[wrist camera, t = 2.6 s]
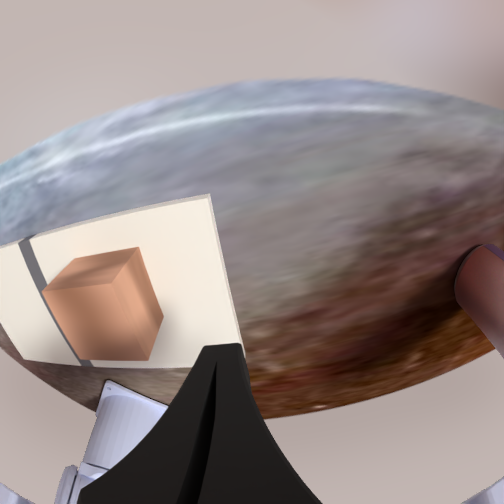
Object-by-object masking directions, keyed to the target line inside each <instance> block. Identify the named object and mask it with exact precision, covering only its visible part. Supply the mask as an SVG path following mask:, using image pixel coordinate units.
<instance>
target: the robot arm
mask: <svg viewBox="0 0 504 504" xmlns="http://www.w3.org/2000/svg"><path fill="white" fill-rule="evenodd" d="M96 417H97V420H96V422H95V425H94V428H93V431H92V434H91V437H90V440H89V442H88V446H87V449H86V452H85V455H84V458H83V461H82V462H81V464H80V468H79V471H77V467H76V466H75V465H71V466H68V467H66V468H65V469H64V472H63V474H62V477H61V480H60V483H59V487H58V490H57V494H56V498H55V503H54V504H322V503H321V502H320V500H319V499H318V498H317V497H316V496H315V495H314V494H313V493H312V491H311V490H310V489H309V488H308V487H307V486H306V484H305V483H304V482H303V481H302V479H301V478H300V477H299V475H298V474H297V473H296V471H295V470H294V469H293V467H292V466H291V464H290V463H289V461H288V460H287V459H286V457H285V456H284V454H283V453H282V451H281V450H280V448H279V447H278V445H277V443H276V442H275V440H274V438H273V436H272V435H271V433H270V431H269V429H268V427H267V426H266V424H265V422H264V420H263V418H262V416H261V414H260V411H259V409H258V407H257V405H256V402H255V400H254V398H253V395H252V392H251V386H250V376H249V372H248V368H247V364H246V360H245V356H244V352H243V348H242V345H241V344H240V343H228V344H218V345H206V346H204V347H203V348H202V350H201V352H200V354H199V356H198V358H197V359H196V361H195V363H194V365H193V367H192V369H191V371H190V373H189V374H188V376H187V378H186V380H185V381H184V383H183V385H182V386H181V388H180V390H179V391H178V393H177V395H176V396H175V398H174V399H173V400H172V402H171V403H170V405H169V406H167V405H164V404H162V403H159V402H157V401H154V400H152V399H149V398H147V397H145V396H142V395H140V394H138V393H136V392H133V391H131V390H129V389H127V388H125V387H123V386H121V385H118V384H116V383H114V382H112V381H110V380H107V381H106V383H105V386H104V389H103V392H102V395H101V398H100V401H99V405H98V408H97V411H96ZM0 504H35V503H33V502H31V501H29V500H28V499H25V498H23V497H22V496H20V495H19V494H17V493H15V492H14V491H12V490H11V489H9V488H8V487H6V486H5V485H3V484H2V483H0ZM461 504H504V477H502V478H501V479H500V480H498V481H497V482H495V483H494V484H493V485H492V486H490V487H488V488H486V489H484V490H482V491H481V492H479V493H477V494H476V495H474V496H473V497H471V498H469V499H468V500H466V501H464V502H462V503H461Z"/></svg>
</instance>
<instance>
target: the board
mask: <svg viewBox="0 0 504 504" xmlns="http://www.w3.org/2000/svg"><path fill="white" fill-rule="evenodd" d="M134 247H139V248H140V252H141V255H142V258H143V261H144V264H145V267H146V270H147V272H148V275H149V278H150V281H151V284H152V286H153V289H154V292H155V295H156V297H157V300H158V303H159V305H160V308H161V310H162V313H163V315H164V318H163V320H162V323H161V326H160V329H159V332H158V334H157V337H156V340H155V343H154V346H153V349H152V351H151V354H150V357H149V360H148V361H105V360H83V359H80V358H79V357H78V355H77V354H76V352H75V351H74V349H73V347H72V346H71V344H70V343H69V341H68V339H67V338H66V336H65V334H64V333H63V331H62V329H61V328H60V326H59V324H58V322H57V320H56V319H55V317H54V315H53V313H52V311H51V309H50V307H49V306H48V304H47V302H46V300H45V298H44V296H43V294H42V291H43V289H44V288H45V287H46V286H47V285H48V284H49V283H50V282H51V281H52V280H53V279H54V278H55V277H56V276H57V275H58V274H59V273H60V272H61V271H62V270H63V269H64V268H65V267H66V266H67V265H68V264H69V263H70V262H71V261H72V260H73V259H74V258H79V257H84V256H90V255H95V254H100V253H106V252H111V251H117V250H122V249H128V248H134ZM0 322H1V324H2V326H3V328H4V329H5V331H6V333H7V334H8V336H9V337H10V339H11V341H12V342H13V344H14V345H15V347H16V348H17V350H18V351H19V353H20V354H21V356H22V357H23V358H24V359H26V360H33V361H40V362H48V363H56V364H66V365H78V366H91V367H111V368H181V367H193V365H194V363H195V361H196V359H197V358H198V356H199V354H200V352H201V350H202V348H203V347H204V346H206V345H218V344H228V343H240V344H241V345H242V348H243V352H244V356H245V351H244V347H243V343H242V338H241V334H240V330H239V326H238V322H237V317H236V313H235V309H234V304H233V300H232V296H231V291H230V287H229V282H228V278H227V273H226V269H225V264H224V260H223V255H222V250H221V246H220V241H219V236H218V232H217V227H216V222H215V217H214V212H213V207H212V202H211V197H210V193H209V194H204V195H198V196H193V197H188V198H182V199H177V200H172V201H167V202H162V203H157V204H153V205H148V206H143V207H139V208H134V209H130V210H126V211H121V212H117V213H113V214H109V215H105V216H101V217H97V218H93V219H89V220H85V221H81V222H78V223H74V224H70V225H67V226H63V227H60V228H56V229H53V230H49V231H46V232H42V233H39V234H36V235H33V236H29V237H26V238H23V239H20V240H17V241H14V242H11V243H8V244H5V245H2V246H0Z"/></svg>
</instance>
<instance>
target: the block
mask: <svg viewBox="0 0 504 504" xmlns="http://www.w3.org/2000/svg"><path fill="white" fill-rule="evenodd" d="M42 294H43V296H44V298H45V300H46V302H47V304H48V306H49V307H50V309H51V311H52V313H53V315H54V317H55V319H56V320H57V322H58V324H59V326H60V328H61V329H62V331H63V333H64V334H65V336H66V338H67V339H68V341H69V343H70V344H71V346H72V347H73V349H74V351H75V352H76V354H77V355H78V357H79V358H80V359H83V360H105V361H148V360H149V357H150V354H151V351H152V349H153V346H154V343H155V340H156V337H157V334H158V332H159V329H160V326H161V323H162V320H163V318H164V315H163V313H162V310H161V308H160V305H159V303H158V300H157V297H156V295H155V292H154V289H153V286H152V284H151V281H150V278H149V275H148V272H147V270H146V267H145V264H144V261H143V258H142V255H141V252H140V248H139V247H134V248H128V249H122V250H117V251H111V252H106V253H100V254H95V255H90V256H84V257H79V258H74V259H73V260H72V261H71V262H70V263H69V264H68V265H67V266H66V267H65V268H64V269H63V270H62V271H61V272H60V273H59V274H58V275H57V276H56V277H55V278H54V279H53V280H52V281H51V282H50V283H49V284H48V285H47V286H46V287H45V288H44V289H43V291H42Z"/></svg>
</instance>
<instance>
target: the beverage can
mask: <svg viewBox="0 0 504 504" xmlns="http://www.w3.org/2000/svg"><path fill="white" fill-rule="evenodd" d="M454 291H455V297H456V301H457V303H458V304H459V305H460V306H461V307H462V308H463V310H464V311H465V312H466V313H467V314H468V315H469V316H470V318H471V319H472V320H473V321H474V322H475V323H476V325H477V326H478V327H479V328H480V329H481V330H482V332H483V333H484V334H485V335H486V337H487V338H488V339H489V340H490V342H491V343H492V344H493V345H494V347H495V348H496V349H497V350H498V352H499V353H500V354H501V356H502V357H503V358H504V252H503V251H502V250H501V249H499V248H498V247H497V246H495V245H492V244H486V245H481V246H478V247H477V248H475V249H474V250H472V251H471V252H470V253H469V254H468V255H467V256H466V258H465V259H464V261H463V262H462V264H461V266H460V267H459V270H458V272H457V275H456V278H455V284H454Z"/></svg>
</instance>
